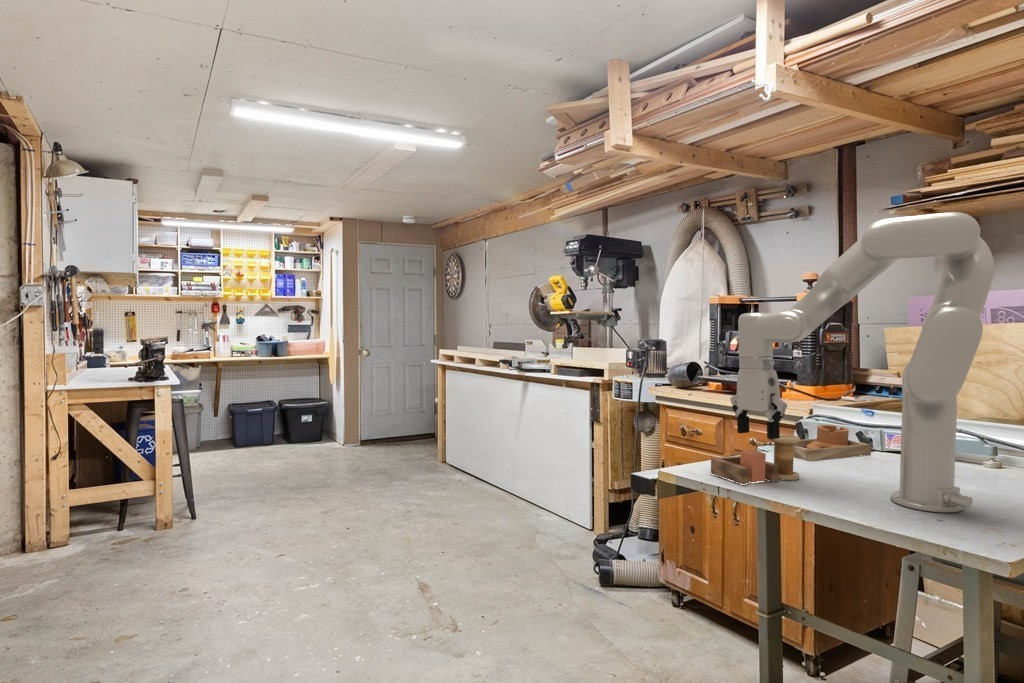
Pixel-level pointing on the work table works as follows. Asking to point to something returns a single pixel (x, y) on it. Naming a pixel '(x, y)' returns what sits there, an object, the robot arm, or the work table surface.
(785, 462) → the spool
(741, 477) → the notched board
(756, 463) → the tab
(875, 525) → the work table surface
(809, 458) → the frame
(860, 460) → the work table surface
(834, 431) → the bracket
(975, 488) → the work table surface
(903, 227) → the robot arm
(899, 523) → the work table surface
